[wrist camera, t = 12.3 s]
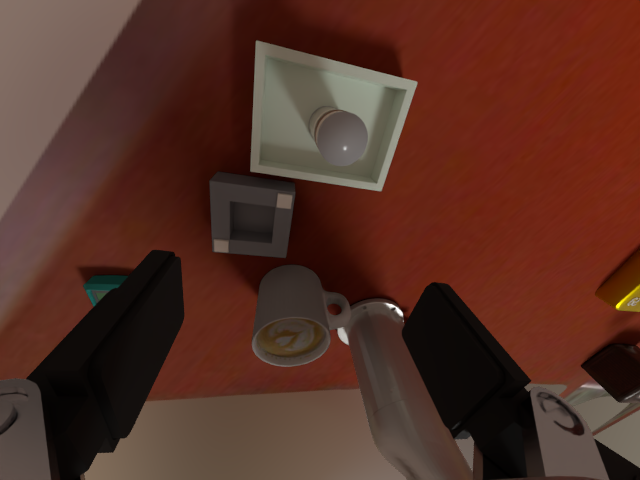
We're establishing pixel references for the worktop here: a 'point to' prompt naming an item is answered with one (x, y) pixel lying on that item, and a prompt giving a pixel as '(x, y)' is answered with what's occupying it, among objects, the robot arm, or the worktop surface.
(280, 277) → the coffee mug
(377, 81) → the parts tray
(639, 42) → the worktop surface
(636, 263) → the element tile
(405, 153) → the worktop surface
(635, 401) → the manual coffee grinder
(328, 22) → the worktop surface
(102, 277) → the digital multimeter
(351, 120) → the cylinder
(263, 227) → the fuse holder
